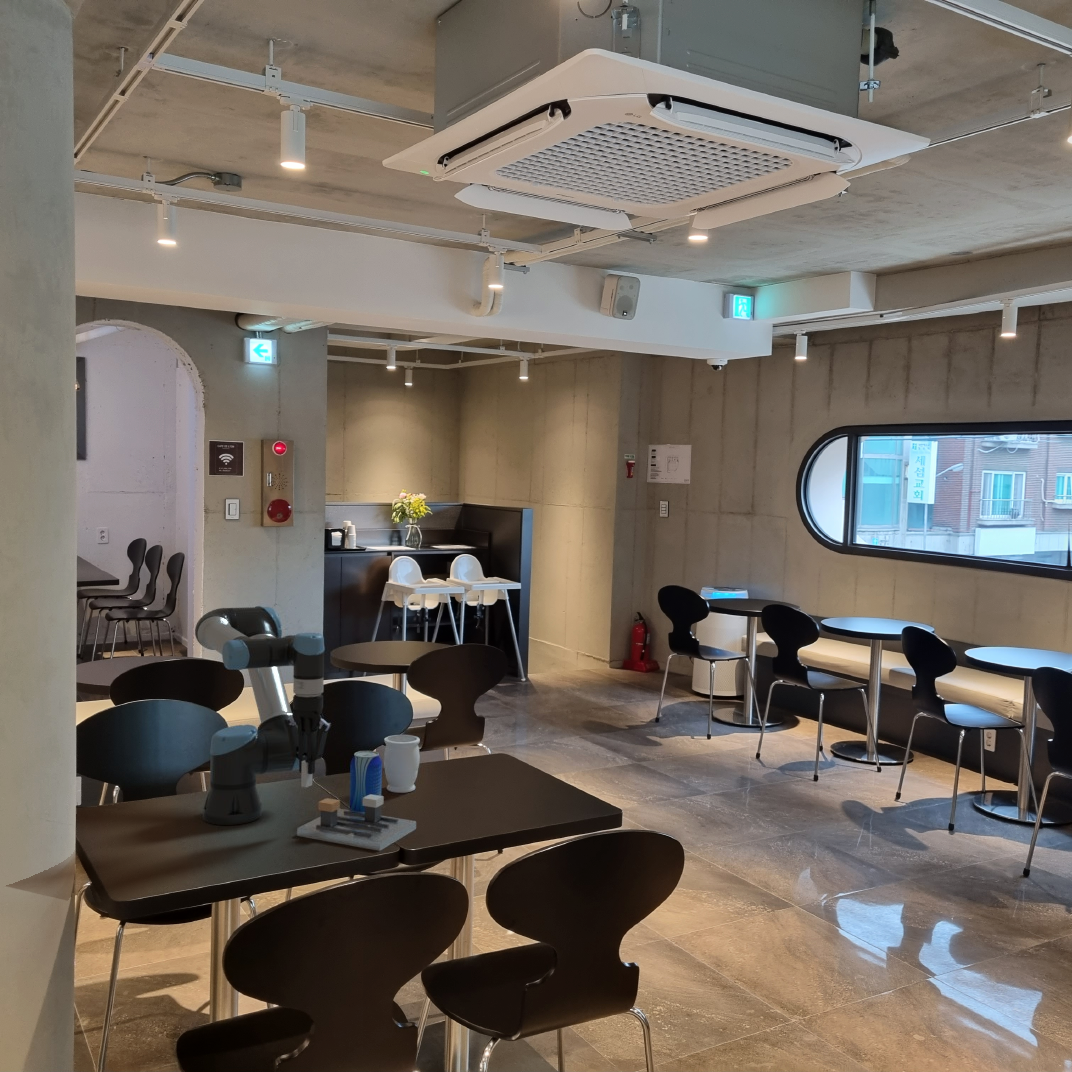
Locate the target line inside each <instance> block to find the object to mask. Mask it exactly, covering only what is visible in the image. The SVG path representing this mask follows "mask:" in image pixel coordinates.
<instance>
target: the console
mask: <svg viewBox="0 0 1072 1072" xmlns="http://www.w3.org/2000/svg"><path fill="white" fill-rule="evenodd" d="M320 823H321V816H318V817H317V818H314V819H312V820H311V821H308V822H307V823H305V824H303V825H301V826H298V827H297V830H296V836H298V837H303V838H307V839H313V840H318V841H322V842H327V843H335V844H338V845H339V844H340V845H345V846H352V847H357V848H361V849H366V850H367V849H368V850H373V851H379V852H380V851H382V850H384V849H385V848H387V847H388V846H389V847H390V846H391V845H392V844H393V843H395V842H397V841H398V840H400V839H402V838H404V837H405V836H406V835H409V834H410V833H412V832H414V831H415V830H416V829H417V821H416V820H411V819H406V818H405V819H404V818H399V817H393V816H386V815H381V819H380V820H379V821H377V822H371V821H365V813H363V812H357V811H351V809H343V808H339V809H337V824H336V825H334V826H332V827H330V826H324V825H320Z"/></svg>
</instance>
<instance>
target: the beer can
mask: <svg viewBox="0 0 1072 1072" xmlns="http://www.w3.org/2000/svg"><path fill="white" fill-rule="evenodd" d="M353 755H354V756H353V757H352V759H351V761H350V773H349V774H350V775H349V810H351V811H357V812H363V813H365V806H363V798H364V797H366V796H368V795H370V794H372V795H378V796H382V783H383V782H382V776H383V775H382V773H383V772H382V770H383V769H382V768H383V761H382V759H381V758H380V754H379V752H378V751H373V750H359V751H357V752H354V754H353Z"/></svg>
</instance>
